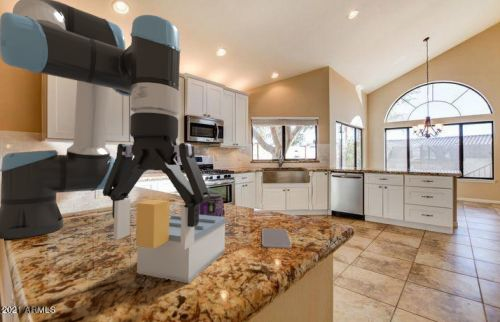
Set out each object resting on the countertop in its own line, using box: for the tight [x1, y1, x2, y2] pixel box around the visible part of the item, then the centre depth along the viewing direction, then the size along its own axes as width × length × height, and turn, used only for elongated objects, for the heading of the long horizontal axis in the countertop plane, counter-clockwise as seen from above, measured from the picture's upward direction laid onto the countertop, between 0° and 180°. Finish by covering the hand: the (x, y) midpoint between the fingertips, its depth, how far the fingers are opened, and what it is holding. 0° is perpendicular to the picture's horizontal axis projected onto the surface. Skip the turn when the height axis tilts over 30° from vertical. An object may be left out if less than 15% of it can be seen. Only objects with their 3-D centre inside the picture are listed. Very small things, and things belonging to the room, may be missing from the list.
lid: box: [135, 199, 228, 249], centre depth 47 cm, size 12×20×8 cm, turn 162°
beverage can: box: [199, 192, 224, 217], centre depth 64 cm, size 7×7×12 cm
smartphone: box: [261, 227, 293, 249], centre depth 65 cm, size 7×1×15 cm
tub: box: [136, 222, 226, 284], centre depth 49 cm, size 11×15×7 cm
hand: (153, 241), depth 39 cm, fingers open, 13 cm apart
